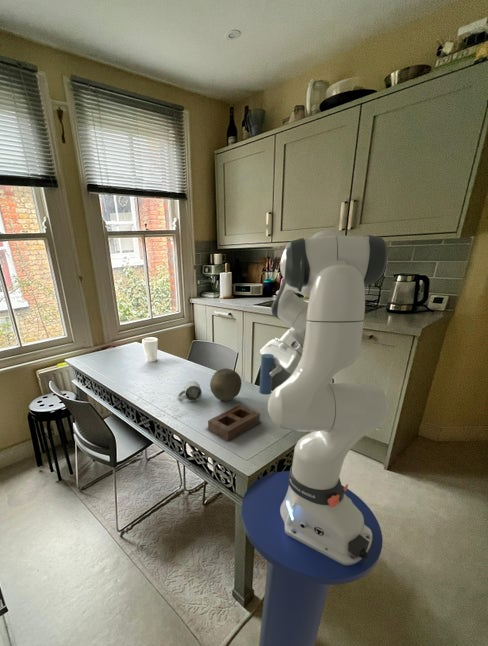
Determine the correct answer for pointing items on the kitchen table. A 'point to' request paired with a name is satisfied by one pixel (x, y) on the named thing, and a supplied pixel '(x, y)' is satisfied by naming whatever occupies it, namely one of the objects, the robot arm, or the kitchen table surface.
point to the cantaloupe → (225, 384)
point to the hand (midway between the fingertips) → (265, 372)
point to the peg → (266, 373)
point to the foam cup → (150, 348)
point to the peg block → (233, 422)
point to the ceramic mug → (191, 391)
